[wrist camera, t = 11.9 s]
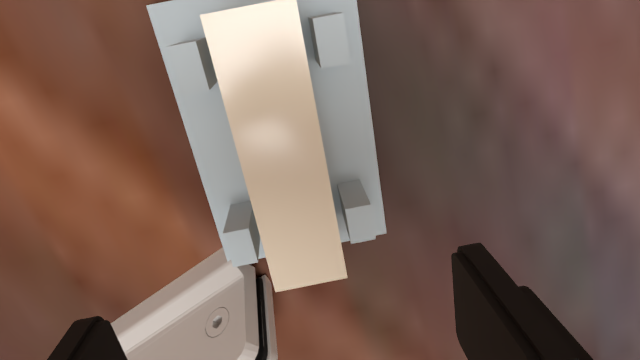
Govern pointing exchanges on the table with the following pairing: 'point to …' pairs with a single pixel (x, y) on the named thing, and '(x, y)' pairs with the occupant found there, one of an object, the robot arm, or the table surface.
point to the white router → (204, 317)
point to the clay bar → (278, 138)
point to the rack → (331, 103)
